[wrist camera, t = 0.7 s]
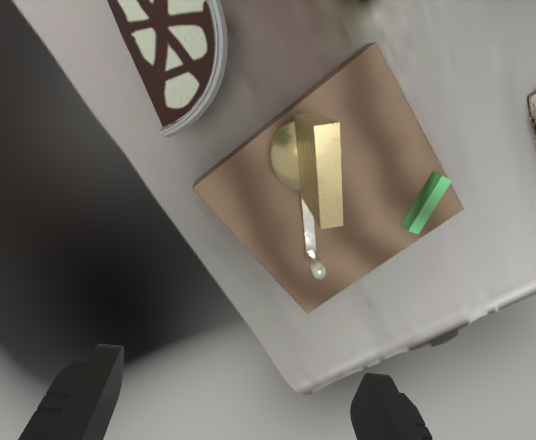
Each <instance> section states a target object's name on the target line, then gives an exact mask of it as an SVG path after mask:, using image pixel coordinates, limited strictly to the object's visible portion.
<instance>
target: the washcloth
mask: <svg viewBox="0 0 536 440" xmlns="http://www.w3.org/2000/svg"><path fill="white" fill-rule="evenodd" d="M529 106H530V112H529V119H530V120H533V121H532V122H531V126H532V133H533V137H534V142H535V145H536V92H534V93H533V94H532V95H530V96H529Z"/></svg>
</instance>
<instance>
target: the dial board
mask: <svg viewBox="0 0 536 440" xmlns="http://www.w3.org/2000/svg"><path fill="white" fill-rule="evenodd" d="M310 112H314V113H317V114H319V115H322V116H325V117H327V118H330V119H332V120H335V121H337V122H340V144H341V151H342V152H341V173H342V201H343V226H338V227H332V228H326V229H320V227H319V225H318V224H317V222H316V220H315V219H314V228H315V242H316V252H317V254H318V256H319V258H320V260H321V262H322V264H323V266H324V268H325V270H326V272H327V274H326V276H325V277H324V278H323V279H316V278H315V277H314V275H313V272H312V270H311V268H310V265H309V263H308V261H307V258H306V256H305V240H304V228H303V217H302V206H301V195H300V190H297V189H293V188H291V187H289V186H287V185H286V184H284V183H283V182H282V181H281V180H280V179H279V178H278V176H277V175H276V173H275V171H274V169H273V167H272V165H271V162H270V157H269V147H270V143H271V140H272V138H273V135H274V134H275V132H276V131H277V130H278V129H279V127H281V126H282V125H283V124H284V123H286V122H287V121H289V120H291V119H294V115H296V114H303V113H310ZM451 181H452V180H451V179H448V178H447V176H446V174H445V172H444V170H443V168H442V166H441V164H440V162H439V160H438V159H437V157H436V155H435V153H434V151H433V149H432V147H431V145H430V143H429V142H428V140H427V138H426V136H425V134H424V132H423V130H422V128H421V126H420V124H419V123H418V121H417V119H416V117H415V115H414V113H413V111H412V109H411V107H410V106H409V104H408V102H407V100H406V98H405V96H404V94H403V92H402V90H401V88H400V87H399V85H398V83H397V81H396V79H395V77H394V75H393V73H392V71H391V70H390V68H389V66H388V64H387V62H386V60H385V58H384V56H383V54H382V53H381V51H380V49H379V47H378V45H377V43H376V42H374V43H370V44H367V45H365V46H364V47H363V48H362V49H360V50H359V51H358V52H357V53H355V54H354V55H353V56H352V57H350V58H349V59H348V60H347V61H345V62H344V63H343V64H342V65H340V66H339V67H338V68H337V69H335V70H334V71H333V72H332V73H330V74H329V75H328V76H327V77H325V78H324V79H323V80H322V81H320V82H319V83H318V84H317V85H315V86H314V87H313V88H312V89H310V90H309V91H308V92H307V93H305V94H304V95H303V96H302V97H300V98H299V99H298V100H297V101H295V102H294V103H293V104H292V105H290V106H289V107H288V108H287V109H285V110H284V111H283V112H282V113H280V114H279V115H278V116H277V117H275V118H274V119H273V120H272V121H270V122H269V123H268V124H267V125H265V126H264V127H263V128H262V129H260V130H259V131H258V132H257V133H255V134H254V135H253V136H252V137H250V138H249V139H248V140H247V141H245V142H244V143H243V144H242V145H240V146H239V147H238V148H237V149H235V150H234V151H233V152H232V153H230V154H229V155H228V156H227V157H225V158H224V159H223V160H222V161H220V162H219V163H218V164H217V165H215V166H214V167H213V168H212V169H210V170H209V171H208V172H207V173H205V174H204V175H203V176H202V177H200V178H199V179H198V180H197V181H195V182H194V184H193V187H192V189H193V190H194V191H195V193H196V194H197V195H198V196H199V197H200V198H201V199H202V200H203V201H204V202H205V203H206V205H207V206H208V207H209V208H210V209H211V210H212V211H213V212H214V213H215V214H216V215H217V216H218V218H219V219H220V220H221V221H222V222H223V223H224V224H225V225H226V226H227V227H228V228H229V229H230V231H231V232H232V233H233V234H234V235H235V236H236V237H237V238H238V239H239V240H240V241H241V243H242V244H243V245H244V246H245V247H246V248H247V249H248V250H249V251H250V252H251V253H252V254H253V256H254V257H255V258H256V259H257V260H258V261H259V262H260V263H261V264H262V265H263V266H264V268H265V269H266V270H267V271H268V272H269V273H270V274H271V275H272V276H273V277H274V278H275V279H276V281H277V282H278V283H279V284H280V285H281V286H282V287H283V288H284V289H285V290H286V291H287V293H288V294H289V295H290V296H291V297H292V298H293V299H294V300H295V301H296V302H297V303H298V304H299V306H300V307H301V308H302V309H303V310H304V311H305V312H306V313H307V314H308V313H309V312H310V311H312V310H313V309H315V308H316V307H318V306H319V305H321V304H322V303H324V302H325V301H327V300H328V299H330V298H331V297H333V296H334V295H336V294H337V293H339V292H340V291H342V290H343V289H345V288H346V287H348V286H349V285H351V284H352V283H354V282H355V281H357V280H358V279H360V278H361V277H363V276H364V275H366V274H367V273H369V272H370V271H372V270H373V269H375V268H376V267H378V266H379V265H381V264H382V263H384V262H385V261H387V260H388V259H390V258H391V257H393V256H394V255H396V254H397V253H399V252H400V251H402V250H403V249H405V248H406V247H408V246H409V245H411V244H412V243H414V242H415V241H417V240H418V239H420V238H421V237H423V236H424V235H426V234H427V233H429V232H430V231H432V230H433V229H435V228H436V227H438V226H439V225H441V224H442V223H444V222H445V221H447V220H448V219H449V218H451V217H452V216H454V215H455V214H457V213H458V212H460V211H461V210H463V209H464V208H463V206H462V204H461V202H460V200H459V198H458V196H457V195H456V193H455V191H454V189H453V187H452V185H451Z"/></svg>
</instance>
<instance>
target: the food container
mask: <svg viewBox="0 0 536 440" xmlns="http://www.w3.org/2000/svg"><path fill="white" fill-rule="evenodd" d="M108 3H109V5H110V8H111V10H112V13H113V15H114V17H115V20H116V22H117V25H118V27H119V30H120V32H121V35H122V37H123V39H124V41H125V43H126V45H127V48H128V50H129V52H130V54H131V56H132V58H133V60H134V63H135V65H136V67H137V69H138V71H139V74H140V76H141V78H142V80H143V83H144V85H145V87H146V89H147V92H148V94H149V96H150V99H151V101H152V103H153V105H154V108H155V110H156V112H157V114H158V117H159V119H160V121H161V123H162V126H163V127H162V129H161V131H160V134H161V133H163V135H164V136H166V137H170V136H172V135H175V134H177V133H179V132H181V131H183V130H184V129H186V128H187V127H189V126H190V125H192V124H193V123H194V122H195V121H196V120H197V119H199V118H200V117H201V116H202V115H203V114H204V113H205V111H206V110H207V109H208V107H209V106H210V105H211V103H212V102H213V100H214V98H215V96H216V94H217V93H218V91H219V89H220V86H221V83H222V80H223V77H224V74H225V69H226V63H227V55H228V37H227V27H226V21H225V17H224V13H223V9H222V5H221V3H220V0H108Z"/></svg>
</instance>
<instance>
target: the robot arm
mask: <svg viewBox="0 0 536 440" xmlns="http://www.w3.org/2000/svg"><path fill="white" fill-rule="evenodd" d="M123 358H124V347H123V346H114V345H104V344H98V345H97V346H96V347H95V349H94V351H93V353H92V355H91V356H90V358H89V360H88V362H80V361H73V362H72V363H71V364H70V365H69V366H67V367H66V368H65V369H64V370H62V371H61V372H60V373H59V374H58V375H57V376H56V378H55V379H54V381H53V383H52V384H51V386H50V388H49V389H48V391H47V393H46V396H44V398H43V399H42V401H41V403H40V404H39V406H38V408H37V411H35V413H34V414H33V416H32V418H31V419H30V421H29V423H28V424H27V426H26V428H25V429H24V431H23V433H22V434H21V436H20V437H19V439H18V440H103V438H104V436H105V433H106V430H107V428H108V425H109V422H110V420H111V417H112V414H113V411H114V409H115V406H116V403H117V400H118V397H119V393H120V389H121V384H122V373H123ZM350 414H351V421H352V425H353V428H354V431H355V434H356V437H357V440H432V436H431V434H430V432H429V430H428V428H427V427H425V422H424V421H423V419H422V417H421V415H420V413H419V411H418V409H417V407H416V406H415V405H414V404H413V403H412V402H411V401H410V400H409V399H408V397H407V396H406V395H405V394H404V393H399V391H398V389H397V387H396V385H395V384H394V382H393V380H392V378H391V377H390V376H389V375H384V374H374V373H366V374H365V375H364V377H363V379H362V381H361V383H360V385H359V388H358V390H357V392H356V394H355V396H354V398H353V401H352V404H351V410H350Z"/></svg>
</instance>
